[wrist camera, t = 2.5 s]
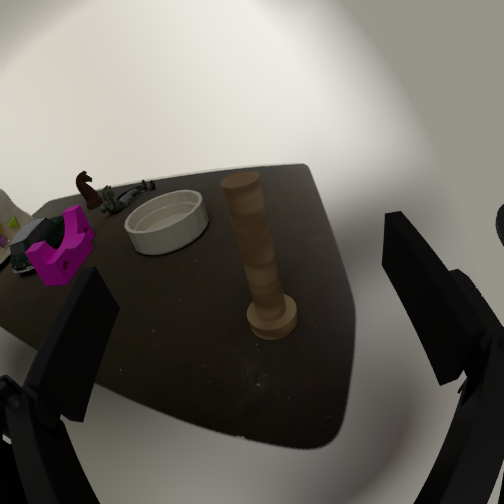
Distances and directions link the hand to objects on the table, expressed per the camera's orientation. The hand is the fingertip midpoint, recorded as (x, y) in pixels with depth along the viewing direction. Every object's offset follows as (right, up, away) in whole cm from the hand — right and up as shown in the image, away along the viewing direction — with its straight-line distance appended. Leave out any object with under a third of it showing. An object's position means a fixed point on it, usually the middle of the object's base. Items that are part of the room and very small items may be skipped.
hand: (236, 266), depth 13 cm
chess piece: (-41, +13, +59) cm, 73 cm away
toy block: (-33, -1, +37) cm, 49 cm away
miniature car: (-45, 0, +43) cm, 62 cm away
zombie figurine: (-28, +12, +53) cm, 61 cm away
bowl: (-13, +4, +36) cm, 38 cm away
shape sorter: (-64, 0, +49) cm, 81 cm away
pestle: (+3, -6, +17) cm, 18 cm away
